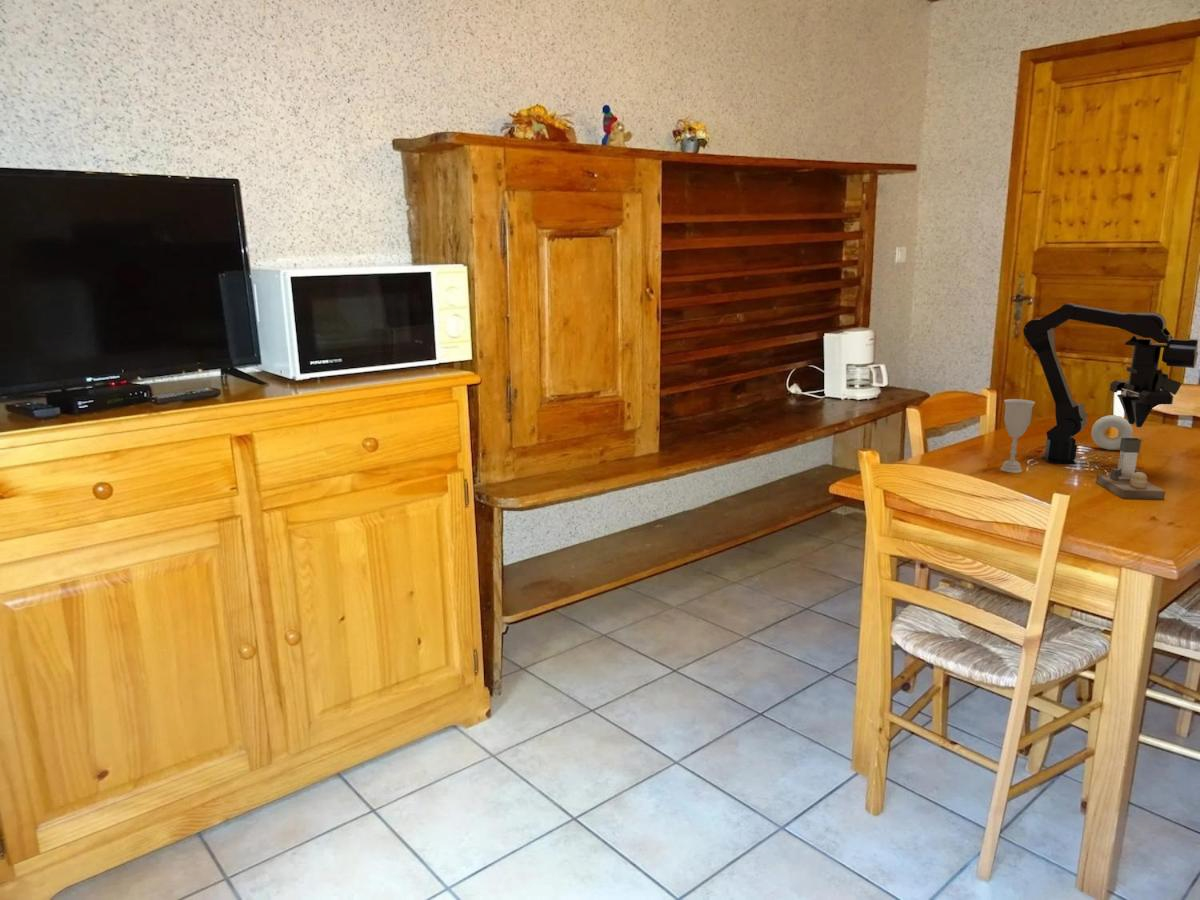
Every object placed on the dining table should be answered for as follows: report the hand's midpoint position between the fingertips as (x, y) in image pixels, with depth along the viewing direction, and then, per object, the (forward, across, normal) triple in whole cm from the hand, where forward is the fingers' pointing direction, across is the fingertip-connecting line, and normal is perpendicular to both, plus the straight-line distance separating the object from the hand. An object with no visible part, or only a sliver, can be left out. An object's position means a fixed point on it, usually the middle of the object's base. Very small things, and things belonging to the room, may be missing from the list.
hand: (1135, 425), depth 211 cm
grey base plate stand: (+12, -18, +8) cm, 23 cm away
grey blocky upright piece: (+9, -15, +8) cm, 20 cm away
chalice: (+12, -2, +29) cm, 32 cm away
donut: (+12, +23, -6) cm, 26 cm away
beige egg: (+10, -21, +8) cm, 25 cm away
